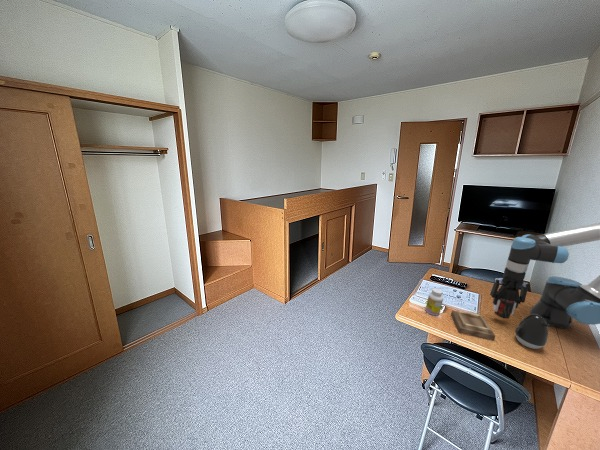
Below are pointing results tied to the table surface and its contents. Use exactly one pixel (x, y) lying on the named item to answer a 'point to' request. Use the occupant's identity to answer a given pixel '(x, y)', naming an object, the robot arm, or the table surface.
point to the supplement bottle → (434, 302)
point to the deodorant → (506, 303)
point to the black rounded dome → (533, 331)
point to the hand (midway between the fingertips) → (502, 311)
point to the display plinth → (472, 325)
